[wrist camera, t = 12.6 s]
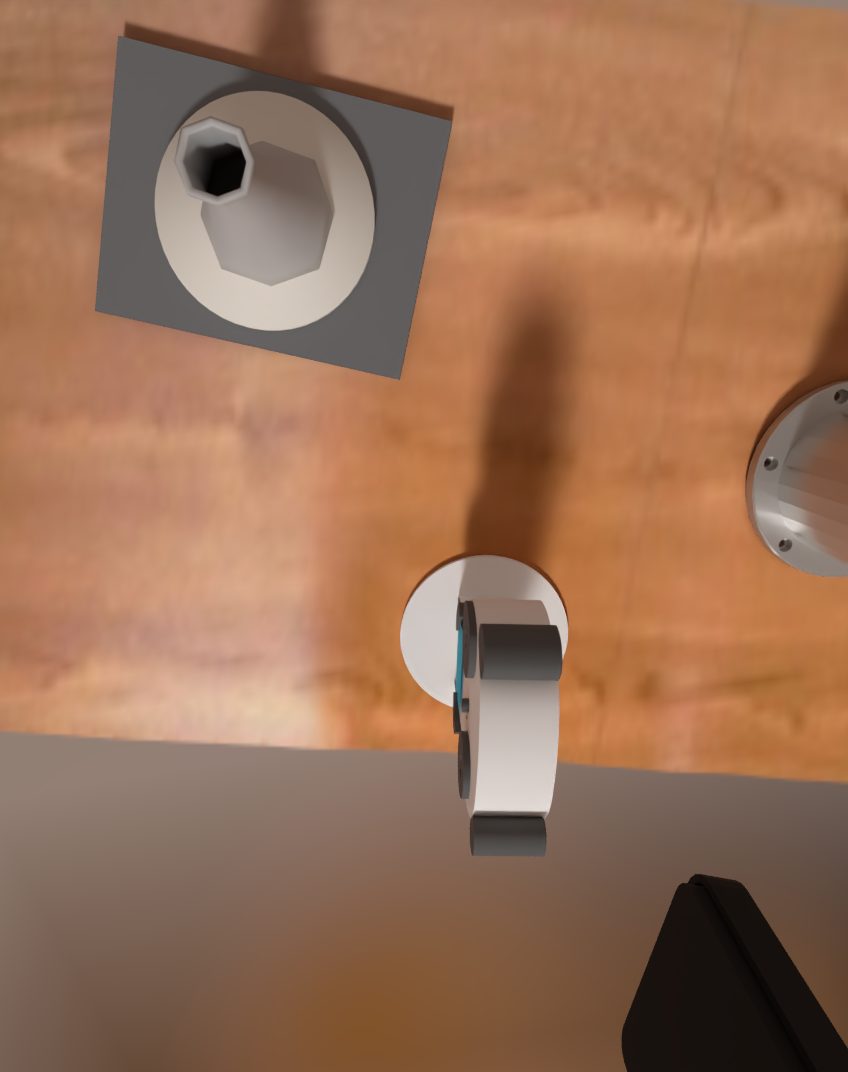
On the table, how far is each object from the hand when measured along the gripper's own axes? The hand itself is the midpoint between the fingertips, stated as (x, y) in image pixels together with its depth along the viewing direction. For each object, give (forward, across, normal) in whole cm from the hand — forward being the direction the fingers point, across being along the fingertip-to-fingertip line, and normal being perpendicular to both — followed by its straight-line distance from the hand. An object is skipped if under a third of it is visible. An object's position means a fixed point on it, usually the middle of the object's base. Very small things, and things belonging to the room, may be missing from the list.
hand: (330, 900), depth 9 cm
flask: (+32, +10, -13) cm, 36 cm away
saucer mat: (+33, +10, -13) cm, 37 cm away
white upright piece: (+34, -8, +9) cm, 36 cm away
